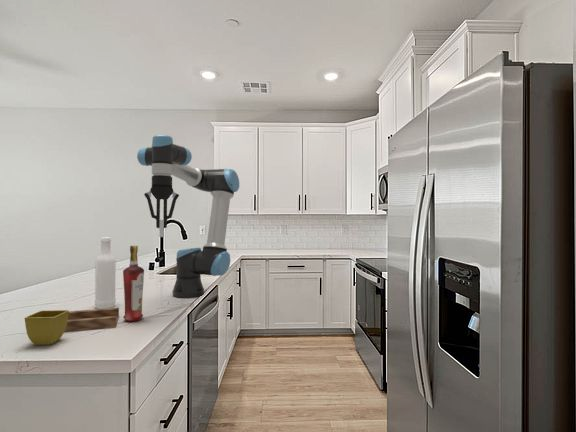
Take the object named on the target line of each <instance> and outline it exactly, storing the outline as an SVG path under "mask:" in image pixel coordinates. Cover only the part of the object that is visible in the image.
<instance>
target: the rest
mask: <svg viewBox="0 0 576 432" xmlns="http://www.w3.org/2000/svg"><path fill="white" fill-rule="evenodd" d="M119 317H120V308H119V307H113V308H107V309H96V308H94V309H82V310H69V314H68V320H67V326H66V329H65V331H64V333H70V332H79V331H80V332H81V331H91V330H101V329H102V330H103V329H111V328H112V329H113V328H117V323H118V320H119Z"/></svg>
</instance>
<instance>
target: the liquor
mask: <svg viewBox="0 0 576 432" xmlns="http://www.w3.org/2000/svg"><path fill="white" fill-rule="evenodd" d="M138 247H139V246H138V245H130V246H129V251H130V252H129V253H130V258H129V265H128V267H125V269H123V270H122V273H123V274H122V277H123V278H122V279H123V281H122V282H123V293H124V295H123V297H124V298H123V300H124V316H123V319H124V320H125V321H126V322H130V323H133V322H134V323H136V322H138V321H140V320H141V319H142V318H143V317H144V314H143V295H144V294H143V293H144V282H145V280H144V279H145V278H144V277H145V269H144V268H143V267H141V266H139V263H138V262H139V261H138V250H139V249H138Z"/></svg>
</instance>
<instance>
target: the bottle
mask: <svg viewBox="0 0 576 432" xmlns="http://www.w3.org/2000/svg"><path fill="white" fill-rule="evenodd" d="M111 241H112V240H111V236H102V237H101V238H100V254H99V255H97V257H96V259H95V276H94V277H95V281H94V282H95V285H94V287H95V289H94V290H95V291H94V295H95V297H94V298H95V299H94V307H95V308H94V309H107V308H115V307H116V273H117V272H116V269H117V268H116V265H117V264H116V258H115V256H114V255H113V254H112V253H111Z"/></svg>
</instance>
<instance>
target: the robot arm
mask: <svg viewBox="0 0 576 432" xmlns="http://www.w3.org/2000/svg"><path fill="white" fill-rule="evenodd" d="M192 157H193V155H192V152H191V150H190V149H188V148H187V147H185V146H181V145H178V144H174V141H173V137H172V136H171V135H167V134H155V135H153V136H152V142H151V147H148V146H147V147H142V148H140V149H138V151H137V157H136V158H137V161H138V163H139V164H140V165H141V166H146V167H148V166H149V167H150V166H151V175H152V176H151V187H150V189H149V191H147V192H145V193H144V194H143V195H144V197H145V198H146V200H147V203H148V204H147V205H148V209H149V212H150V216H151V218H152V219H155V220H156V223H155V224H156V226H155V227H156V229H158V231H159V234H158V235H159V236H158V237H159V238H164V234H165V233H164V231H165V230H164V229H167V226H168V224H167V223H168V220H169V219H172V217H173V215H174V214H173V213H174V209H175V206H176V202H177V199H178V198H179V196H180V195H179V193H177V192H175V191H174V188H173V177H175V178H177V179H179V180H182V181H183V182H185V183H186V185H188V186H190V187H192V188H195V189H196V190H199V191H202V192H206V193H210V195H211V196H212V202H211V208H210V209H211V210H210V216H209V225H208V231H207V240H206V244H204V245H203V246H202V249H201V247H193V248H184V249H179V250H177V252H176V258H175V259H176V281H175V284H174V286H173V289H172V296H173V297H175V298H179V299H180V298H183V299H187V298H188V299H190V298H197V297H202V296H204V295H205V288H204V285H203V282H202V279H201V276H202V275H203V276H213V277H216V276H218V277H219V276H223V275H225V274H226V273H227V271H228V270H229V267H230V264H231V256H230V255H231V254H230V253H229V252H228V249H227V247H226V244H225V243H226V234H227V226H228V218H229V212H230V210H229V209H230V205H231V204H230V203H231V199H233V197H234V195H235V193H237V192H238V191H239V189H240V179H239V176H238V173H237V171H236V170H234V169H233V168H220V169H217V168H216V169H200V168H197V167H191V166H189V164H190V162H192V161H191V160H192V159H193V158H192ZM172 176H173V177H172ZM171 195H172V197H171ZM152 196H153V197H154V199H155V200H156V209H155V210H156V215H155V211H154V206H153V204H152V199H151V198H152ZM170 197H171V198H172V201H171V205H170V209H169V212H168V199H170ZM161 200H163V216H162V217H163V219H161V214H160V213H161Z"/></svg>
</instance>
